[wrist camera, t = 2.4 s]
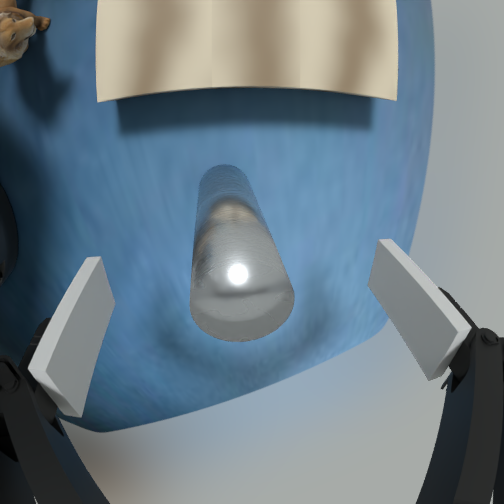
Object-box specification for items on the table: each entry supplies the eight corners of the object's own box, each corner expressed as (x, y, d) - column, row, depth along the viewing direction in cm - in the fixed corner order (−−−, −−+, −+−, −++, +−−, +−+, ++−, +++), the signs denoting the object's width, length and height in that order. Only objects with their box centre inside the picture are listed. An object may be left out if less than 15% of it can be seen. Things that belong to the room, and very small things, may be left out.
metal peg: (200, 213, 24) (196, 344, 12) (197, 166, 22) (182, 265, 10) (249, 210, 24) (290, 336, 12) (249, 163, 22) (298, 257, 10)
